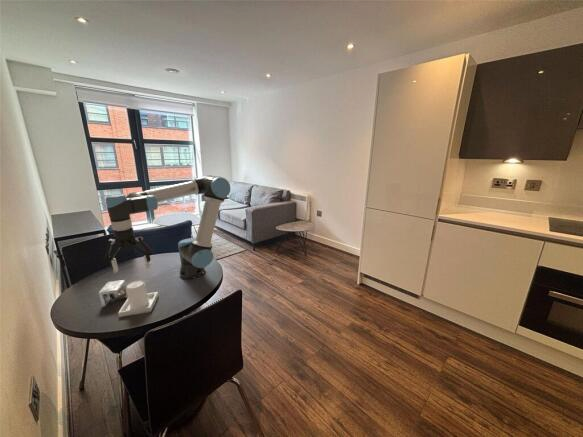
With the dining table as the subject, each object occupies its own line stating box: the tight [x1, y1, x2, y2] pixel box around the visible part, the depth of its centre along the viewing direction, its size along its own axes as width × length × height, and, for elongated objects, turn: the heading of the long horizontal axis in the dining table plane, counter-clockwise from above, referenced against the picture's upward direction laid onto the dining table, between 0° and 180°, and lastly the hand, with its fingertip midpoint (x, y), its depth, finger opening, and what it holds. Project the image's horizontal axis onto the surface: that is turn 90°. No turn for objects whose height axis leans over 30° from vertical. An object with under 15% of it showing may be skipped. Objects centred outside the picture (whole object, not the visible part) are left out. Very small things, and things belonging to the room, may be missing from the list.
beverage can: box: [126, 279, 149, 309], centre depth 117 cm, size 8×8×12 cm
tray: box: [117, 291, 159, 318], centre depth 118 cm, size 14×14×3 cm
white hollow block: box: [98, 279, 127, 308], centre depth 123 cm, size 10×10×8 cm
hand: (132, 269), depth 113 cm, fingers open, 13 cm apart
